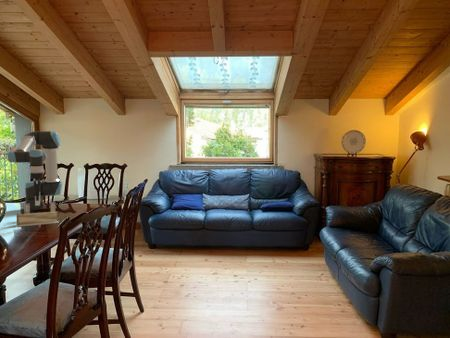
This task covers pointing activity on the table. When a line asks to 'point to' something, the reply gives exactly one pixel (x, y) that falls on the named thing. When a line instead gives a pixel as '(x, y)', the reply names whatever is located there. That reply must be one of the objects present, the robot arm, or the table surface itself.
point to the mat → (37, 223)
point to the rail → (37, 217)
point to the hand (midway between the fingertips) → (37, 203)
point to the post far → (52, 206)
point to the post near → (27, 208)
